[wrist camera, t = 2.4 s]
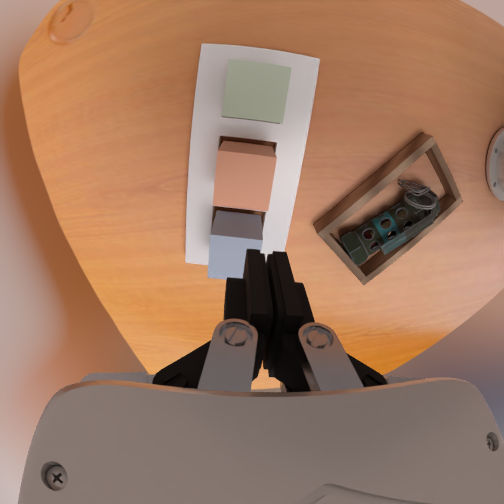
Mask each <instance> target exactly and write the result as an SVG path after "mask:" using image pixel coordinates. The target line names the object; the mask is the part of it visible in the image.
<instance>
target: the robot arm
mask: <svg viewBox="0 0 504 504" xmlns="http://www.w3.org/2000/svg"><path fill="white" fill-rule="evenodd" d="M486 175H487V182H488V185H489V188H490V190H491V192H492V194H493V195H494V196H495V197H496V198H498V199H499V200H501V201H504V127H503V128H502V129H500V130H499V131H498V132H497V133H496V134H495V136H494V138H493V139H492V142H491V144H490V147H489V150H488V155H487V162H486ZM262 360H263V367H264V369H268V373H269V377H275V378H276V379H278V380H279V381H280V389H281V392H274V393H273V392H250V391H251V384H252V381H253V380H254V379H255V378H257V377H258V373H259V369H260V368H261V364H262ZM18 504H504V441H503V438H502V436H501V433H500V430H499V428H498V426H497V423H496V422H495V419H494V417H493V415H492V413H491V411H490V409H489V407H488V405H487V403H486V401H485V400H484V398H483V396H482V395H481V393H480V392H479V390H478V389H477V388H476V387H475V386H474V385H473V384H471V383H469V382H467V381H464V380H460V379H455V378H430V379H422V378H407V377H395V376H387V377H386V378H384V377H383V376H382V375H381V374H380V373H378V372H377V371H375V370H373V369H372V368H370V367H368V366H367V365H365V364H363V363H362V362H360V361H358V360H357V359H355V358H354V357H352V356H350V355H349V354H347V353H346V352H345V350H344V348H343V346H342V344H341V342H340V340H339V339H338V337H337V335H336V333H335V332H334V331H333V330H332V329H331V328H330V327H328V326H326V325H324V324H321V323H315V321H314V317H313V314H312V311H311V307H310V304H309V301H308V297H307V294H306V291H305V288H304V285H303V283H298V282H295V281H294V278H293V274H292V270H291V267H290V263H289V260H288V256H287V253H286V252H281V251H273V252H272V254H268V255H267V260H266V259H265V254H264V253H260V250H258V249H247V250H246V257H245V264H244V272H243V278H231V277H227V281H226V291H225V304H224V321H222V322H220V323H219V324H218V325H217V326H216V328H215V330H214V333H213V336H212V340H211V341H209V342H207V343H206V344H204V345H202V346H201V347H199V348H197V349H196V350H194V351H192V352H191V353H189V354H187V355H186V356H184V357H182V358H180V359H179V360H177V361H175V362H174V363H172V364H170V365H168V366H167V367H165V368H163V369H161V370H160V371H159V372H158V373H156V375H147V373H146V372H135V373H92V374H89V375H87V376H85V377H84V378H83V379H82V380H81V382H79V383H75V384H71V385H68V386H66V387H64V388H62V389H60V390H59V391H58V392H57V393H56V394H54V395H53V397H52V398H51V400H50V401H49V402H48V404H47V406H46V407H45V409H44V412H43V414H42V416H41V418H40V420H39V423H38V425H37V428H36V430H35V433H34V436H33V439H32V442H31V445H30V448H29V452H28V456H27V460H26V464H25V468H24V473H23V478H22V483H21V488H20V494H19V501H18Z"/></svg>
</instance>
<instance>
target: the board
mask: <svg viewBox="0 0 504 504" xmlns="http://www.w3.org/2000/svg"><path fill="white" fill-rule="evenodd" d="M229 59H232V60H243V61H252V62H260V63H268V64H274V65H281V66H287V67H292V68H291V74H290V81H289V87H288V93H287V100H286V106H285V112H284V119H283V124H281V123H274V122H267V121H260V120H252V119H244V118H235V117H224V116H222V109H223V101H224V93H225V85H226V78H227V71H228V64H229ZM319 63H320V59H319V58H314V57H310V56H305V55H300V54H295V53H290V52H284V51H278V50H271V49H264V48H256V47H248V46H237V45H224V44H202V46H201V53H200V60H199V67H198V74H197V82H196V91H195V100H194V109H193V119H192V130H191V142H190V155H189V170H188V188H187V212H186V261H185V263H194V264H202V265H208V262H209V246H210V234H211V230H212V226H213V217H214V206H216V205H213V194H214V183H215V172H216V162H217V152H218V149H219V148H220V142H221V136H229V137H239V138H248V139H256V140H263V141H270V142H275V147H274V152H275V154H276V157H277V161H276V167H275V173H274V179H273V185H272V191H271V197H270V203H269V209H268V211H263V212H264V215H263V222H262V234H263V243H262V249H261V253H264V254H265V259H266V260H267V255H268V254H272V252H273V251H281V252H284V250H285V246H286V241H287V236H288V232H289V227H290V222H291V217H292V212H293V208H294V203H295V198H296V193H297V188H298V183H299V177H300V172H301V167H302V162H303V156H304V151H305V146H306V140H307V135H308V129H309V123H310V118H311V112H312V106H313V100H314V94H315V88H316V82H317V76H318V69H319ZM219 207H225V206H219ZM228 208H234V207H228ZM237 209H243V208H237ZM246 210H252V209H246ZM255 211H260V210H255Z"/></svg>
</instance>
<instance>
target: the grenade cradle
mask: <svg viewBox="0 0 504 504" xmlns="http://www.w3.org/2000/svg"><path fill="white" fill-rule="evenodd" d="M425 152H426V154H427V156H428V158H429V159H430V161H431V163H432V165H433V167H434V169H435V171H436V173H437V175H438V177H439V179H440V181H441V183H442V185H443V187H444V189H445V191H446V195H445V196H444V197H443V198H442V199H441V200H440V201H439V204H440V208H441V210H440V211H439V213H438V214H437V215H438V216H437V215H436V216H435V219H434V223H433V224H432V225H430V226H429V227H427V228H426V229H424V230H423V231H421V232H420V233H418V234H417V235H415V236H414V237H412V238H411V239H409V240H408V241H406V242H405V243H403V244H401V245H400V246H398V247H397V248H395V249H394V250H392V251H390V252H389V253H387V254H386V255H384V254H383V252H382V251H380V252H379V253H377V254H376V255H375V256H374V257H372V258H371V259H370V260H368V261H367V262H366V263H365V264H363V265H362V266H361V267H360V266H359V265H358V266H357V265H355V264H354V262H353V260H352V259H351V257H350V255H349V253H348V251H347V250H346V249H345V248H344V247H343V246H342V245H341V243H340V242H339V241H338V240H337V239H336V238H335V237H334V235H333V234H332V233H331V232H332V231H333V230H334V229H336V228H337V227H338V226H339V225H341V224H342V223H343V222H344V221H345V220H347V219H348V218H349V217H350V216H352V215H353V214H354V213H355V212H356V211H358V210H359V209H360V208H361V207H362V206H364V205H365V204H366V203H367V202H368V201H370V200H371V199H372V198H373V197H374V196H375V195H377V194H378V193H379V192H380V191H381V190H383V189H384V188H385V187H386V186H387V185H388V184H390V183H391V182H392V181H393V180H394V179H395V178H397V177H398V176H399V175H400V174H401V173H402V172H403V171H405V170H406V169H407V168H408V167H409V166H410V165H411V164H413V163H414V162H415V161H416V160H417V159H418V158H419V157H421V156H422V155H423V154H424V153H425ZM462 202H463V200H462V198H461V195H460V193H459V190H458V188H457V186H456V183H455V181H454V179H453V177H452V174H451V172H450V170H449V168H448V166H447V164H446V162H445V160H444V157H443V155H442V153H441V152H440V150H439V148H438V146H437V144H436V142H435V140H434V138H433V136H430V135H427V134H424V133H421V134H420V135H418V136H417V137H416V138H415V139H414V140H413V141H412V142H410V143H409V144H408V145H407V146H406V147H405V148H404V149H402V150H401V151H400V152H399V153H398V154H397V155H395V156H394V157H393V158H392V159H391V160H390V161H388V162H387V163H386V164H385V165H384V166H383V167H381V168H380V169H379V170H378V171H377V172H376V173H374V174H373V175H372V176H371V177H370V178H368V179H367V180H366V181H365V182H364V183H363V184H361V185H360V186H359V187H358V188H357V189H355V190H354V191H353V192H352V193H351V194H350V195H348V196H347V197H346V198H345V199H344V200H342V201H341V202H340V203H339V204H338V205H336V206H335V207H334V208H333V209H332V210H330V211H329V212H328V213H327V214H326V215H324V216H323V217H322V218H321V219H320V220H318V221H317V222H316V223H315V224H314V227H315V229H316V232H317V234H318V235H319V236H320V237H321V238H322V239H323V240H324V241H325V242H326V244H327V245H328V246H329V247H330V248H331V249H332V250H333V251H334V252H335V253H336V254H337V256H338V257H339V258H340V259H341V260H342V261H343V262H344V263H345V264H346V266H347V267H348V268H349V269H350V270H351V271H352V272H353V274H354V275H355V276H356V277H357V278H358V279H359V280H360V282H361V283H362V284H363V285H365V284H366V283H367V282H369V281H370V280H371V279H373V278H374V277H375V276H377V275H378V274H379V273H381V272H382V271H383V270H384V269H386V268H387V267H388V266H390V265H391V264H392V263H393V262H395V261H396V260H397V259H398V258H400V257H401V256H402V255H403V254H404V253H406V252H407V251H408V250H409V249H410V248H412V247H413V246H414V245H415V244H416V243H418V242H419V241H420V240H421V239H422V238H423V237H425V236H426V235H427V234H428V233H429V232H430V231H432V230H433V229H434V228H435V227H436V226H437V225H438V224H439V223H441V222H442V221H443V220H444V219H445V218H446V217H447V216H448V215H449V214H450V213H451V212H453V211H454V210H455V209H456V208H457V207H458V206H459V205H460V204H461V203H462Z"/></svg>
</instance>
